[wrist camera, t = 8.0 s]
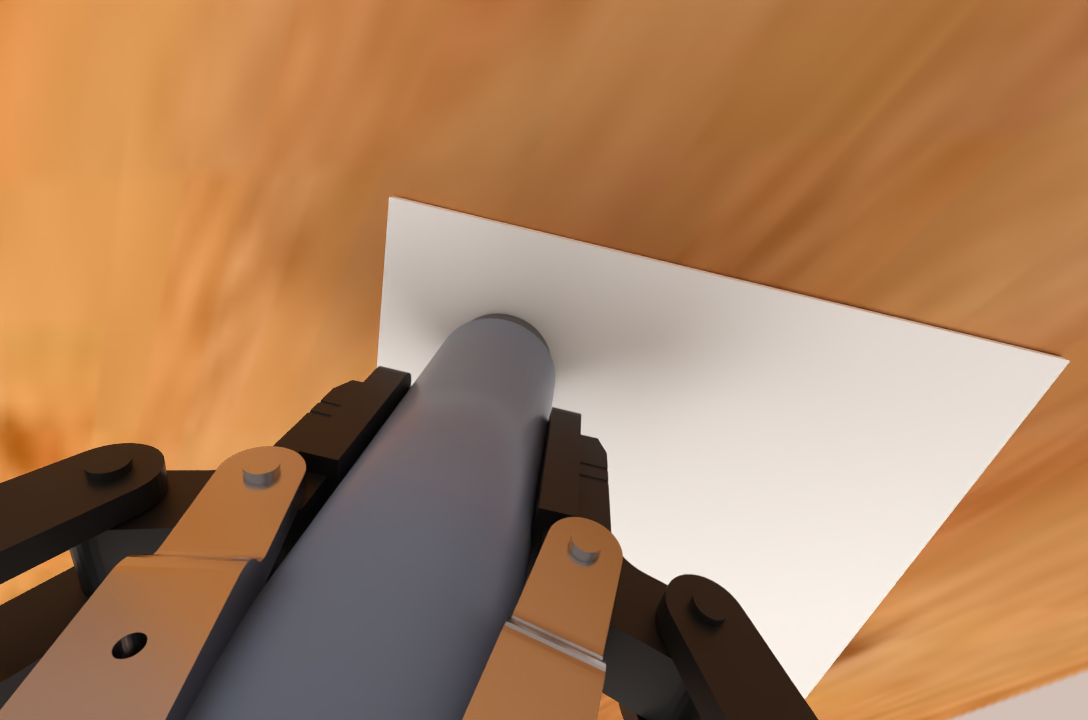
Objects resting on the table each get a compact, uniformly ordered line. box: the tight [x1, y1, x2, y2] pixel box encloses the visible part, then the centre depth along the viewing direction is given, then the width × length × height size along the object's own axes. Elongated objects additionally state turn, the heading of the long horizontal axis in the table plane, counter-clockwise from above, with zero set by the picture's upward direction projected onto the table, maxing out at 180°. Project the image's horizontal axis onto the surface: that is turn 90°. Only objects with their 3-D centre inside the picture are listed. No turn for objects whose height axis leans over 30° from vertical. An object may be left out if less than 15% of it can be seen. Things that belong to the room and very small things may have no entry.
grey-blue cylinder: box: [185, 313, 555, 720], centre depth 9 cm, size 4×4×13 cm
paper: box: [377, 196, 1070, 699], centre depth 17 cm, size 18×20×1 cm
